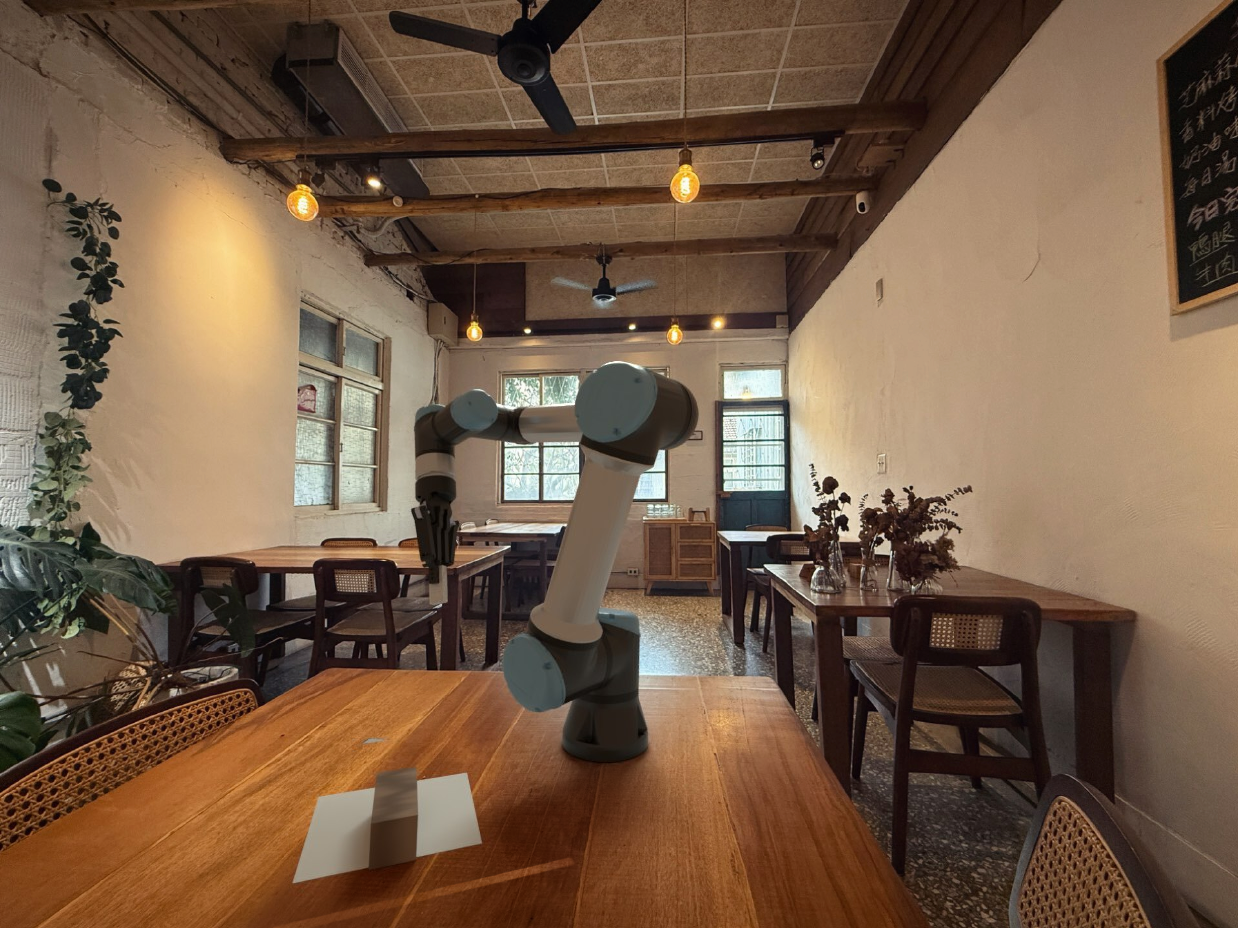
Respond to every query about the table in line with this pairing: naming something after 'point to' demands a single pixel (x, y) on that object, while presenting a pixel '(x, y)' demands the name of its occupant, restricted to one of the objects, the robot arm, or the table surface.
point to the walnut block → (394, 818)
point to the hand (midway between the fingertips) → (438, 603)
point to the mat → (347, 823)
